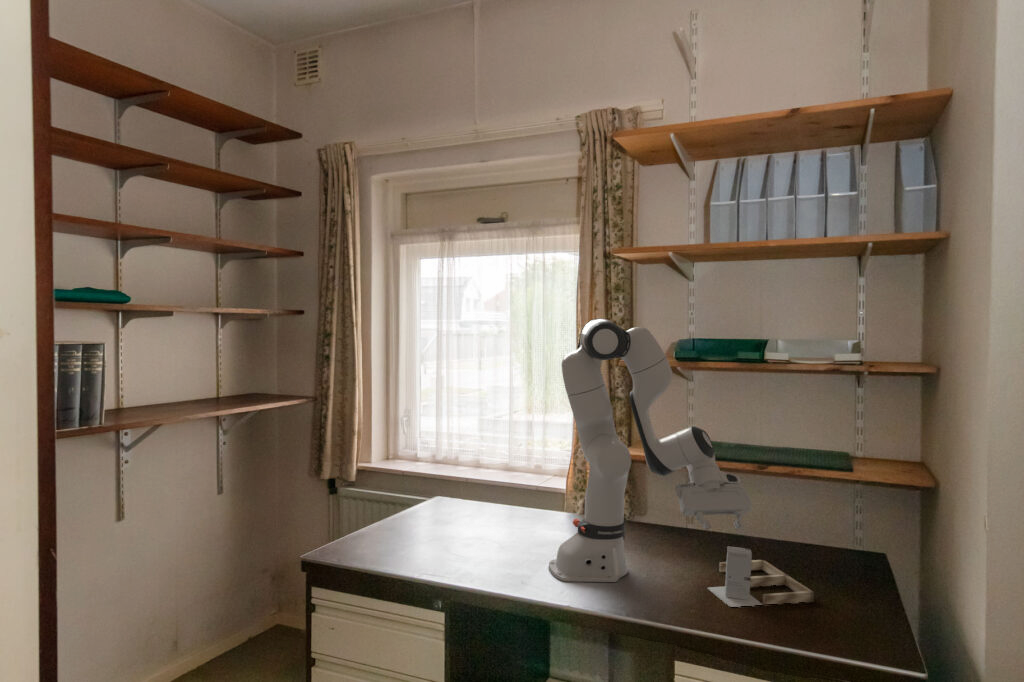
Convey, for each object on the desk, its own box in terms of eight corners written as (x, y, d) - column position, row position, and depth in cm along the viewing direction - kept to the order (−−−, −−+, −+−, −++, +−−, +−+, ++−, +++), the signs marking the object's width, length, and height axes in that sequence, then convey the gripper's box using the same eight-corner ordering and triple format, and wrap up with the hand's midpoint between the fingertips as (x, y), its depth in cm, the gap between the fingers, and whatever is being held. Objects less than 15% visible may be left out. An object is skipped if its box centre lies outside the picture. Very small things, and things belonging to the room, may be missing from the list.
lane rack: (764, 605, 169) (765, 595, 169) (719, 570, 191) (719, 562, 191) (813, 601, 172) (814, 592, 172) (763, 568, 194) (763, 559, 194)
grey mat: (730, 608, 167) (730, 606, 167) (707, 588, 179) (707, 587, 179) (762, 605, 169) (763, 604, 169) (737, 586, 181) (737, 585, 181)
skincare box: (725, 597, 173) (726, 551, 172) (724, 590, 177) (726, 545, 176) (750, 600, 171) (752, 554, 170) (749, 593, 175) (750, 548, 175)
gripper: (677, 477, 185) (691, 523, 176) (744, 476, 189) (762, 521, 180) (669, 489, 189) (683, 534, 180) (735, 488, 193) (752, 532, 184)
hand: (723, 528), depth 180 cm, fingers open, 8 cm apart
